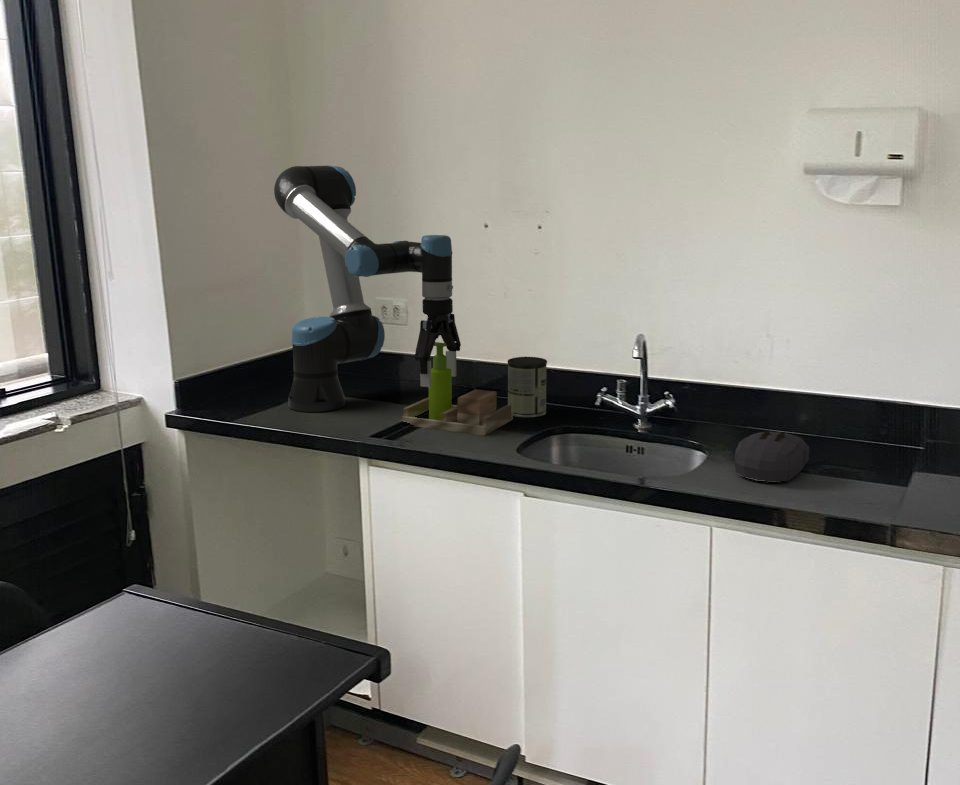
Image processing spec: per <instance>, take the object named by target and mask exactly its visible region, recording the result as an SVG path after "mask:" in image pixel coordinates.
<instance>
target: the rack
mask: <svg viewBox="0 0 960 785" xmlns="http://www.w3.org/2000/svg"><path fill="white" fill-rule="evenodd" d="M427 410H429V396H428V397H425V398H423V399H421V400H419V401H416V402H415V403H412V404H410V405H408V406H405V407H403V408H402V414H403V416H401V417H400V418H401V419H400V421H403V422H407V423H410V424H412V425H414V426H413V427H416V428H417V427H418V428H425V429H431V430H441V431H446V432H455V433H461V434H468V435H477V436H486V435H488V434H490V433H492V432H493V431H495V430H497V429H498V428H500V427H502V426H504V425H506V424H508V423H509V422H511V421H513V420H514V416H513V412H511V405H508V404H506V405H504V406H502V407H500V408H498V409H496V411H494V412H492V413H491V414H489V415H487V416H485V417H483V418H482V426H479V425H471V424H463V423H457V413H458V404H452V408H451V409H449V410H447V411H445V412H443V413H442V421H440V420H432V419H429V418H424V417H422V418H417V417H415V416H418V415H420V414H422V413H424V412H425V411H427Z"/></svg>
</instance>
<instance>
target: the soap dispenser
mask: <svg viewBox="0 0 960 785" xmlns="http://www.w3.org/2000/svg"><path fill="white" fill-rule="evenodd" d="M433 347H436V350H435V351H436V354H435V355H434V356H433V357H432V358H433V359H432V360H433V362H432V363H433V364H432V367H431V387H428V397H429V414H428V419H432V420H440V421H442V413H443V412H445V411H447V410H449V409H451V408H452V405H453V396H452V392H453V391H452V390H453V387H452V386H453V381H452V378H453V376H452V370H451V369H449V368H447V357H446V354H444V347H446V343H444V342H440V341H437V342H436V341H435V344H434V346H433Z"/></svg>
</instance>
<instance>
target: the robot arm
mask: <svg viewBox="0 0 960 785" xmlns="http://www.w3.org/2000/svg"><path fill="white" fill-rule="evenodd" d="M356 189H357V188H356V183H355V180H354V178H353V177H352V175H351V174H350V172H349V171H348V170H346V169H345V168H344V167H341V166H336V165H328V164H327V165H309V166H308V165H304V166H303V165H296V166H291V167H288V168H287V169H285V170H283V171H282V172H281V173H280V174H279V175H278V177H277V178H276V181H275V183H274V188H273V193H274V198H275V199H274V200H276V201H275V202H276V203H277V205H278V207H280V209H281V210H282V211H283V212H284V213H285V214H286V215H287V216H288V217H290V218H291V219H298V220H299V221H301V222H302V223H303V224H305V226H307V227H308V228H309V229H310V230H311V231H312V232H314V233H315V234H316V235H318V239H319V244H320V248H321V250H320V251H321V253H322V258H323V264H324V268H325V274H326V278H327V284H328V288H329V293H330V298H331V304H332V308H333V309H332V312H331V313H330V314H329V316H318V317H309V318H306V319H302V320H300V321H297V322H296V323H295V324H294V325H293V327H292V332H291V344H292V358H293V359H292V361H293V363H292V364H293V365H292V366H293V379H292V380H293V381H292V385H291V388H290V391H289V396H288V398H287V400H288V402H287V403H288V408H289V409H290V410H294V411H296V412H297V411H298V412H306V413H318V412H321V413H322V412H329V411H330V412H331V411H335V410H339V409H341V408H343V407H345V406H346V397H345V394H344V390H343V388H342V385H341V382H340V380H339V376H338V373H339V372H338V365H339V364H340V365H341V364H344V363H345V364H346V363H350V362H356V361H364V360H367V359H371V358H374V357H375V356H376V357H377V355H378V354H379V353H380V352H381V351H382V348H383V346H384V343H385V339H386V338H385V328H384V324H383V322H382V321H381V320H380V318H379V317H378V316H375V315H373V313H372V308H371V307H370V306H368V305H367V304H366V303H365V300H364V296H363V290H362V287H361V286H362V285H361V281H360V277H364V278H365V277H366V278H369V277H373V276H380V275H388V274H389V275H390V274H399V273H408V272H409V273H410V272H411V273H421V294H422V296H421V297H422V298H423V299H422V314H424V315H426V316H427V318H426V319H427V320H422V319H421V321H420V323H419V324H420V328H419V334H418V339H417V342H416V343H417V344H416V348H415V353H414V357H413V358H414V360H415V361H417V362H419V379H420V382H419V383H420V384H419V386H420V387H423V388H424V387H425V388H429V387H431V368H432V361H431V360H430V358H431V355H432V352H433V349H434V347H435V346H434V344H435V342H436V341H437V339H439V337H441V339H442V341H443V343H446V346H445V347H446V351H445V356H446V357H447V368H449V369H451V370H452V378H453V377H457V352H460V351H461V347H462V346H461V345H462V344H461V341H460V340H461V339H460V337H459V333H458V329H457V324H456V318H455V314H454V313H453V312H454V308H453V306H454V305H453V299H452V298H451V297H452V296H453V289H454V285H453V248H452V246H453V245H452V238H451V237H450V236H448V235H446V234H439V235H438V234H429V235H423V236H422V237H421V238H420V239H421V240H420V241H421V242H418V241H417V242H416V241H409V240H398V241H394V242H390V243H375V242H374V241H372V240H371V239H370V238H368V237H367V236H366V235H365V234H364V233H362V232H361V231H360V230H359V229H358V228H356V227H355V226H354V225H353V224H351V223H350V222H349V221H348V217H349V216H350V214H351V213H352V208H351V207H352V206H353V205H354V203H355V200H356V196H357V190H356Z"/></svg>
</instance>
